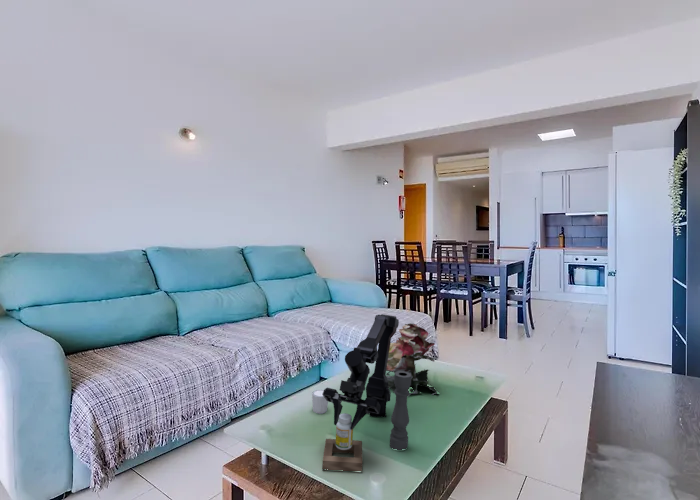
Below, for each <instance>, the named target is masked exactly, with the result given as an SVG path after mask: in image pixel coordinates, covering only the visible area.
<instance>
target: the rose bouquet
mask: <svg viewBox="0 0 700 500" xmlns="http://www.w3.org/2000/svg"><path fill="white" fill-rule="evenodd" d="M398 332H399V334H400V336H401V337H398V339H397V340H396V342H390V349H389V355H388V362H387V368H386V377H387V380H388V387H389V390H390V391H392V393H394V390H395V389H396V387H395V384H394V375H390V373H391V372H392V373H394V374H395V372H397V371H405V372H408V373H410V374H411V385H410V387H412V388H413V390H414V391H412V392H413V393H410V394H409V396H408V397H410V396H411V395H419V394H418V393H420V392H421V391H420V390H419V391H418V386H421V387H427V388H428V389H429V390H432V391H433V392H434V393H432V394H431V396H435V395H434V394H437V392H436V391H437V390H435V389H434V387H435V386H433V387H429V386H427V382H428V381H427V380H429V379H428V373H429V372H428V371H430V369H425V368H424V369H423V370H420V371H416V370H417V369H416V361H420V360H422V359H423V360H428V361H430V362H435V359H433V358H432V357H431V356H429V355H425V354H426V353H427V352H429V353H432V352H434V351H432V350H430V348H431V347H433V346H435V342H429V341H427V340H426V339H428V336H429V335H430V333H429V332H428V331H427V330H426V329H425V328H423V327H421V326H419V325H418V324H416V323H413V322H409V323H407V324H406V323H405V324H404V325H403V326H402V327H401V328H399V329H398ZM447 366H449V365H447ZM394 394H395V393H394Z"/></svg>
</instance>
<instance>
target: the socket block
mask: <svg viewBox="0 0 700 500" xmlns="http://www.w3.org/2000/svg"><path fill="white" fill-rule="evenodd" d="M333 453H338V454H339V453H340V454H353V457H351V456H335V455H333ZM322 469H326V470H325V471H327V469H328V470H343V471H362V472H363V441H362V440H353V439H352V447H351V448H350V449H348V450H340V449H338V448H337V447H336V438H334V439H333V438H325V442H324V449H323V457H322V468H321V470H322ZM343 471H342V472H343Z"/></svg>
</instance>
